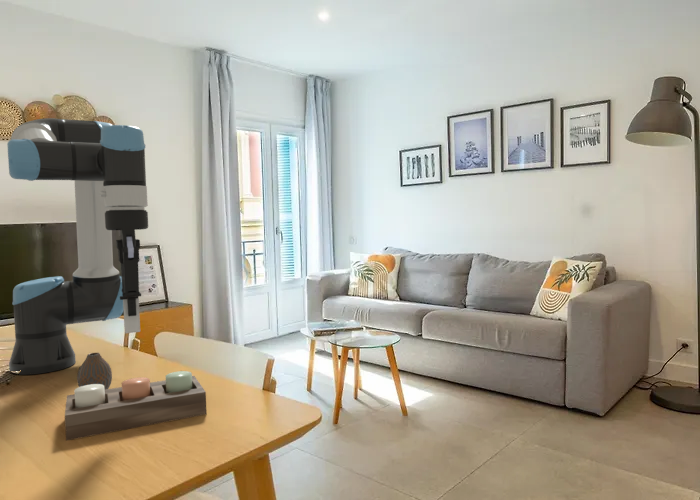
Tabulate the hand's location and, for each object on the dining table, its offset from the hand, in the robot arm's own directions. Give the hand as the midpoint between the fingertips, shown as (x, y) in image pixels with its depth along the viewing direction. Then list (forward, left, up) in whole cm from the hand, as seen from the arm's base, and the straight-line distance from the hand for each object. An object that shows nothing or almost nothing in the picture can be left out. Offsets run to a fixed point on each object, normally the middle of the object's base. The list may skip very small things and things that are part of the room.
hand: (132, 331), depth 101 cm
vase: (-19, -7, -17) cm, 27 cm away
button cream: (+1, -8, -14) cm, 16 cm away
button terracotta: (+1, 0, -14) cm, 14 cm away
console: (+1, 0, -16) cm, 16 cm away
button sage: (+1, +8, -14) cm, 16 cm away
